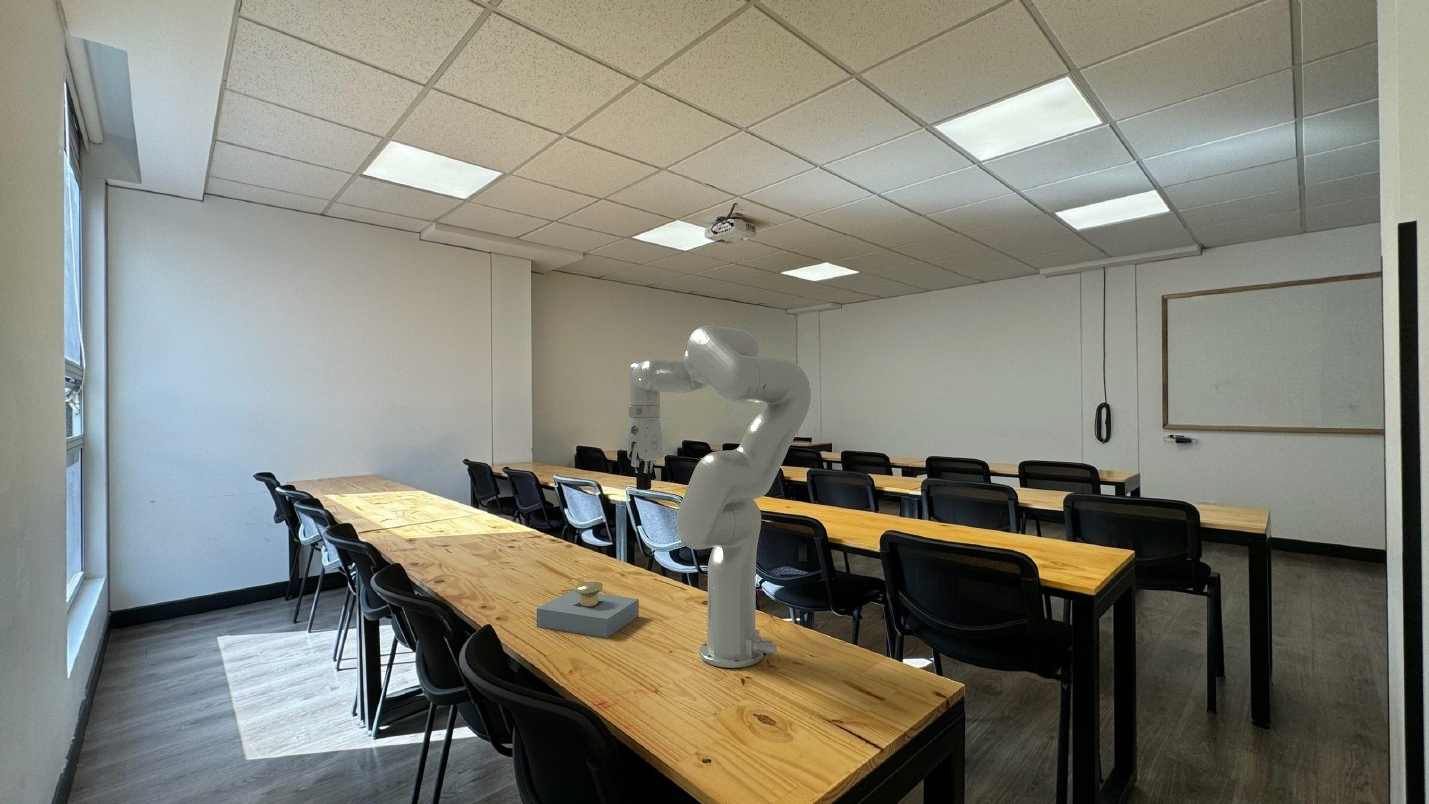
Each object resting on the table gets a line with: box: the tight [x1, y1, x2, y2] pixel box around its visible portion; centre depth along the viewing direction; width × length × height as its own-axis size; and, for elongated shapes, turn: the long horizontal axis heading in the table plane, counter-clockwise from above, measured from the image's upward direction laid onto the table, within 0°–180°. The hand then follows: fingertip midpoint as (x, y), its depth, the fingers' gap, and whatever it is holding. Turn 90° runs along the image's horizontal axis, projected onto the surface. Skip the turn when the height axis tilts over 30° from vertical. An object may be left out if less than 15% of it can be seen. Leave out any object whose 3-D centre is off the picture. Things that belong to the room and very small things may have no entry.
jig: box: [536, 589, 640, 639], centre depth 131 cm, size 18×14×4 cm
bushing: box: [575, 581, 604, 609], centre depth 131 cm, size 6×6×8 cm
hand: (643, 489), depth 139 cm, fingers closed
